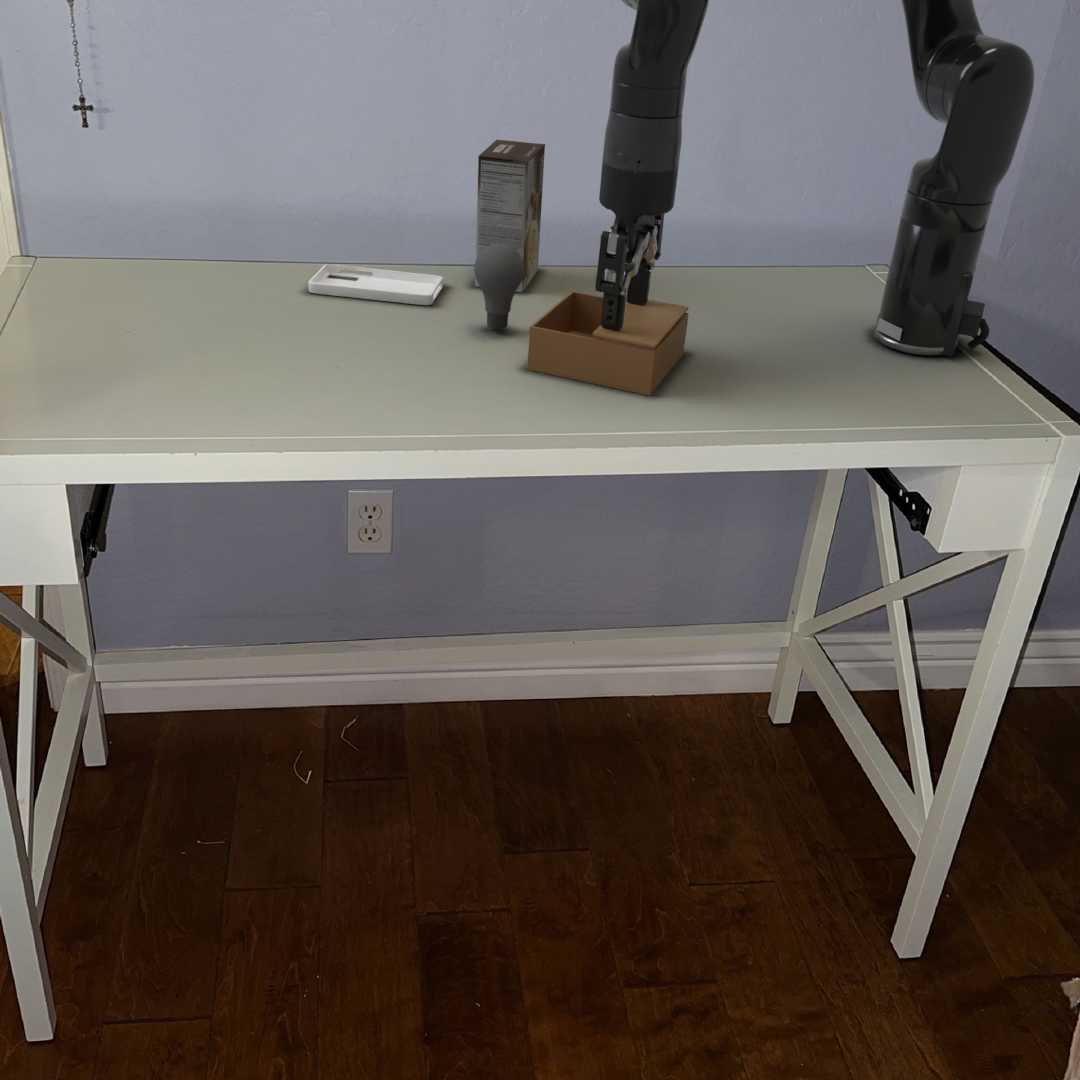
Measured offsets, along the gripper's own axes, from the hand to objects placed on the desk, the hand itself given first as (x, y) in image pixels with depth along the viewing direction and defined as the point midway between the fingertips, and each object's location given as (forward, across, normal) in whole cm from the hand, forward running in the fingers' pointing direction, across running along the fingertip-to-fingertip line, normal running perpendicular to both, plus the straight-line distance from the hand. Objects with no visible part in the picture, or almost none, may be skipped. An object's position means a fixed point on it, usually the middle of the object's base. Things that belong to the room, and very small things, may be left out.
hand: (624, 315), depth 123 cm
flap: (0, 0, -2) cm, 2 cm away
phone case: (+6, +7, +33) cm, 35 cm away
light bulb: (+6, +2, +15) cm, 17 cm away
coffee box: (+6, +19, +21) cm, 29 cm away
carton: (+6, 0, +1) cm, 6 cm away
